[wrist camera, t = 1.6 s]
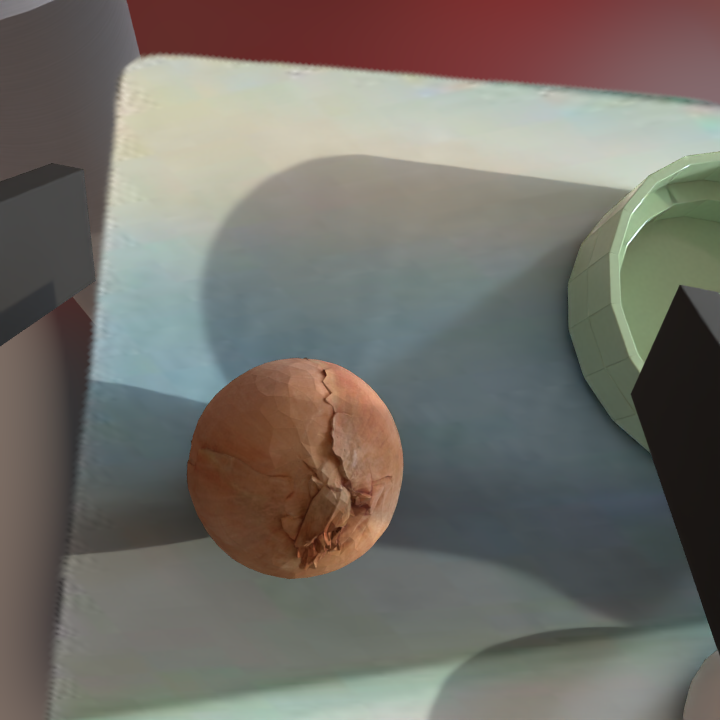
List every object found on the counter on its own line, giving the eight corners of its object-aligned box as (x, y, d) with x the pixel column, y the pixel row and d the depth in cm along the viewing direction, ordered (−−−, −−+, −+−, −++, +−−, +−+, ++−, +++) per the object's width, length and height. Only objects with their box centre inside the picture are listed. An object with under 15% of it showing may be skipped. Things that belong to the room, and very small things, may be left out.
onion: (334, 528, 34) (416, 630, 24) (159, 515, 30) (178, 630, 21) (373, 361, 33) (473, 403, 24) (198, 327, 29) (237, 360, 20)
